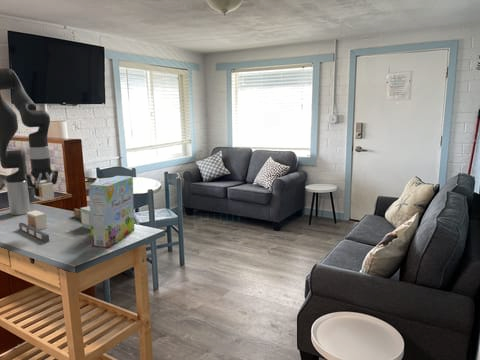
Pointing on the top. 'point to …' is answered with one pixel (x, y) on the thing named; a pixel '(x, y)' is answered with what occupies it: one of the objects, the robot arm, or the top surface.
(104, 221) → the snack box
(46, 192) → the box
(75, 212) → the shelf back lip
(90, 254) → the top surface
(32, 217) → the faced twin box
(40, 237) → the rail
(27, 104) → the robot arm
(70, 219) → the top surface
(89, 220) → the sage tea tin
